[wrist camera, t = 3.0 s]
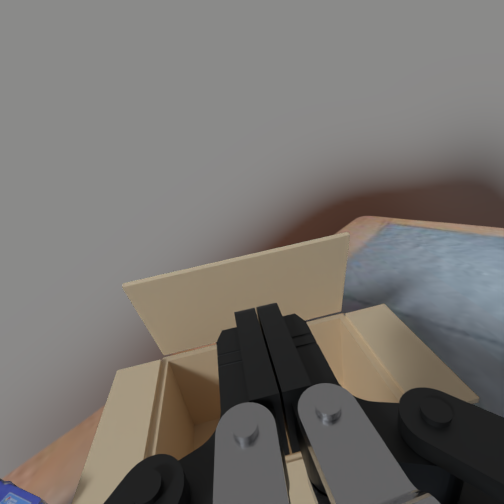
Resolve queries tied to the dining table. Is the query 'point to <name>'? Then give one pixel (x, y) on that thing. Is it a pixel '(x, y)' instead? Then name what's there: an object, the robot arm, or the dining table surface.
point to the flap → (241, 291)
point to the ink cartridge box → (16, 495)
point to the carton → (208, 396)
